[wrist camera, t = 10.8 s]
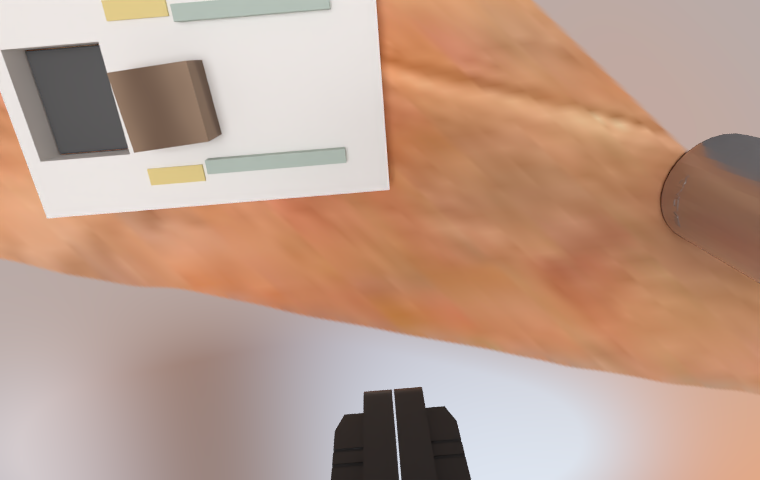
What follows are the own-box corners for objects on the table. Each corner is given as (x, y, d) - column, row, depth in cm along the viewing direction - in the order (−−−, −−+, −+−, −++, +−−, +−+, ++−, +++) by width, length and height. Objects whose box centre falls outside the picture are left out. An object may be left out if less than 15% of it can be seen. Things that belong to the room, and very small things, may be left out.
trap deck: (371, -49, 31) (371, -60, 28) (388, 181, 37) (390, 192, 34) (-12, -17, 31) (-52, -24, 28) (66, 207, 37) (40, 221, 34)
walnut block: (201, 59, 31) (186, 60, 29) (221, 134, 33) (208, 141, 30) (129, 70, 31) (106, 72, 29) (153, 144, 33) (134, 152, 31)
